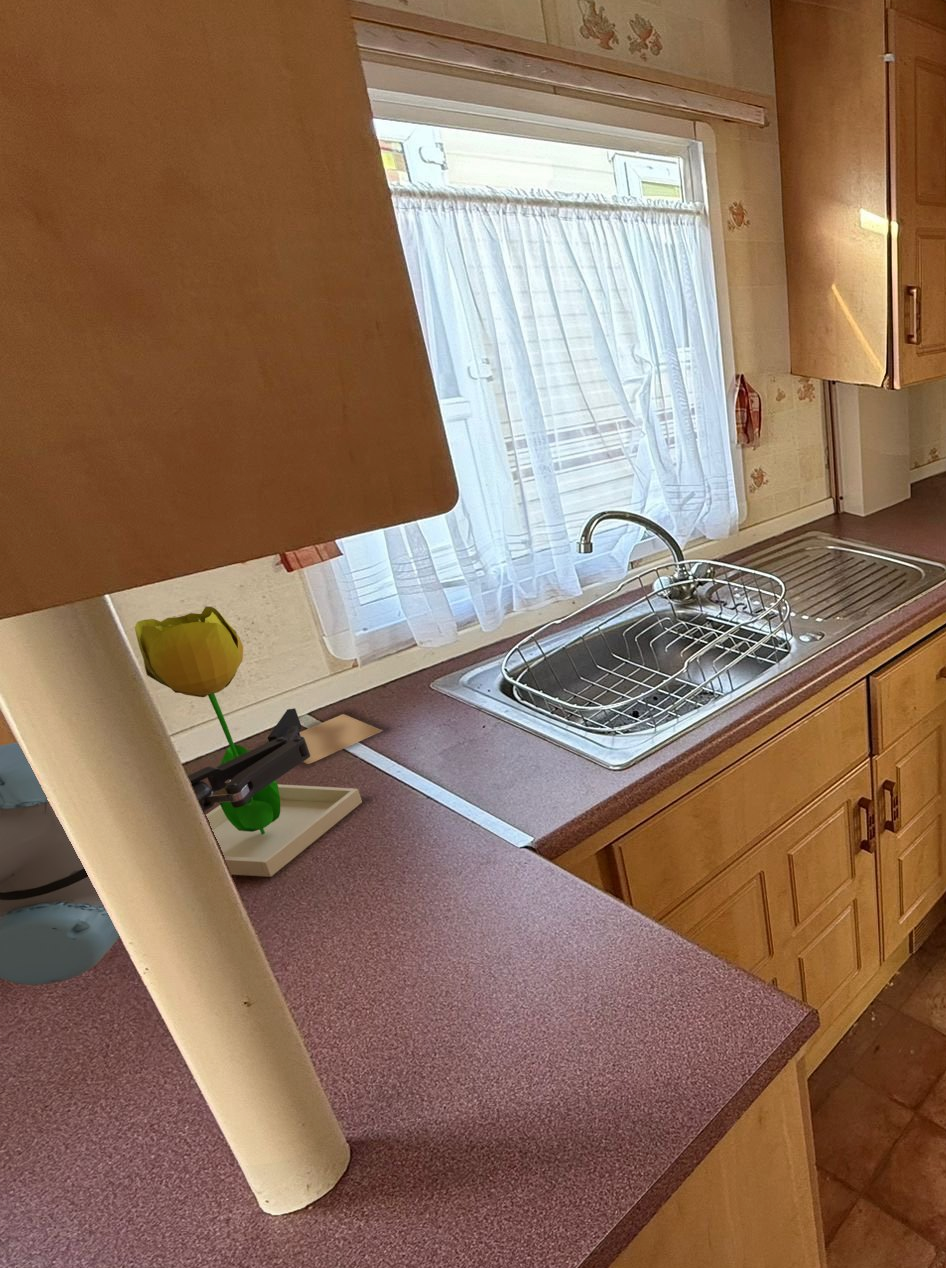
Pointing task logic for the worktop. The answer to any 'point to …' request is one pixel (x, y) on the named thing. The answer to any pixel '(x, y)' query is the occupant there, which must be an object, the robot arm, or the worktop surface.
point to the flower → (205, 686)
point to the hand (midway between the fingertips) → (223, 728)
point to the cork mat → (335, 736)
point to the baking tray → (283, 828)
